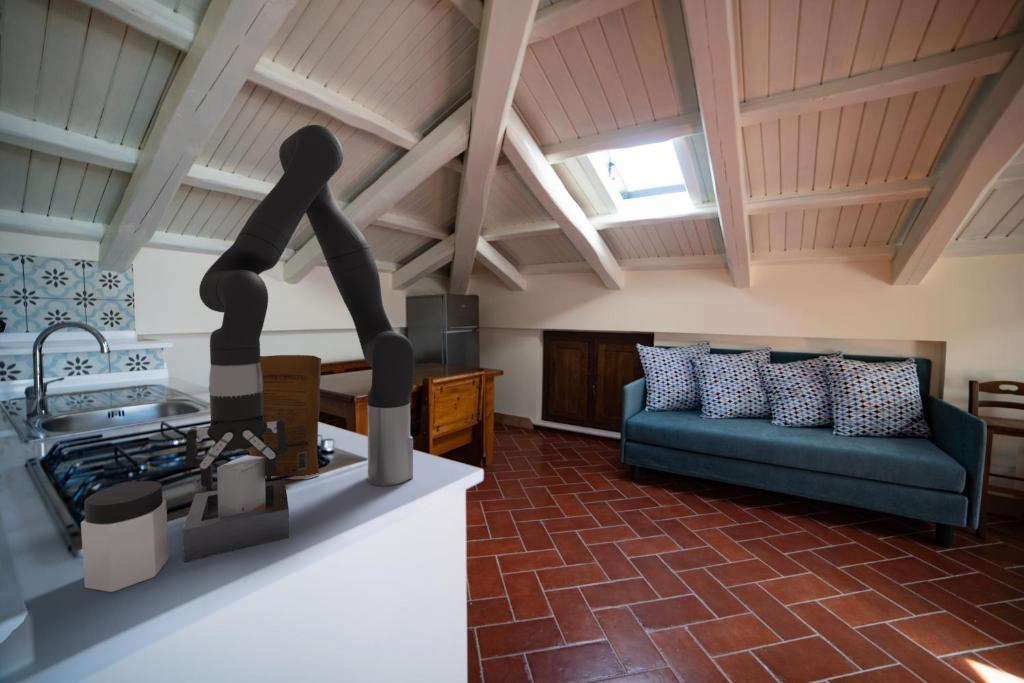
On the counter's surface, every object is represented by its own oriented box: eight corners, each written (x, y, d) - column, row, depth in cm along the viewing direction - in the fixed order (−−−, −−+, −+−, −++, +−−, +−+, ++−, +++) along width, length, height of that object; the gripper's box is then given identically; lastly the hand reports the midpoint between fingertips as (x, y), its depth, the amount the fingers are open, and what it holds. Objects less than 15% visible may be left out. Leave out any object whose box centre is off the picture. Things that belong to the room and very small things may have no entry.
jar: (162, 548, 66) (159, 475, 65) (175, 570, 61) (171, 490, 60) (81, 575, 59) (76, 493, 59) (88, 602, 54) (82, 513, 53)
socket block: (285, 503, 82) (284, 478, 82) (289, 537, 70) (288, 508, 70) (196, 520, 75) (195, 493, 75) (184, 562, 63) (182, 530, 63)
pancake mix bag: (315, 484, 91) (313, 356, 89) (230, 481, 92) (226, 354, 90) (330, 472, 98) (328, 353, 96) (251, 469, 99) (247, 351, 97)
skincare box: (239, 539, 69) (237, 469, 68) (217, 536, 70) (215, 466, 69) (267, 521, 75) (265, 456, 74) (247, 518, 76) (245, 454, 75)
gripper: (284, 383, 78) (286, 468, 79) (187, 389, 70) (191, 483, 71) (286, 390, 71) (288, 482, 72) (180, 398, 64) (184, 501, 65)
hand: (240, 483), depth 72 cm, fingers open, 8 cm apart
